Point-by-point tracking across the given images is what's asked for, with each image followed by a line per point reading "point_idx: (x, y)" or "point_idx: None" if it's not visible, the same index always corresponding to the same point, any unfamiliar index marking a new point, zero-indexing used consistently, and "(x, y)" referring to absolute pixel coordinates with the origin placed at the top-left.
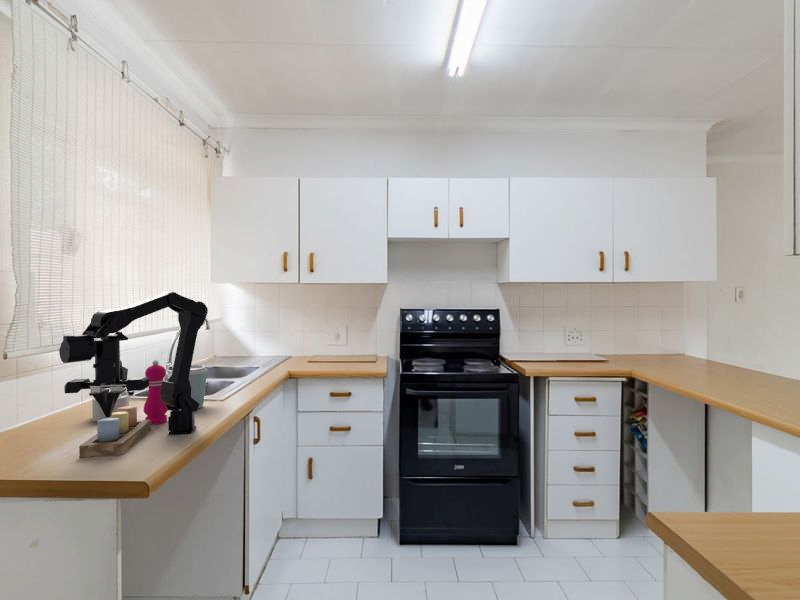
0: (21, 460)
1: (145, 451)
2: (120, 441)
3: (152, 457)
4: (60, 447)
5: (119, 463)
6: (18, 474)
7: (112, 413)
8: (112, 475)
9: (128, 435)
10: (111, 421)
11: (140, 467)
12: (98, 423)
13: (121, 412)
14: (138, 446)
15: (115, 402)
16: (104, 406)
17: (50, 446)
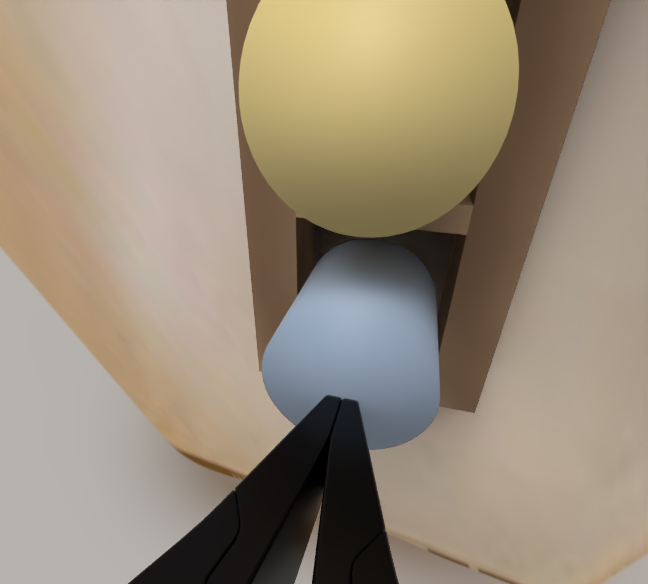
0: (75, 290)
1: (592, 352)
2: (458, 375)
3: (621, 447)
4: (91, 126)
5: (471, 456)
6: (174, 422)
7: (276, 63)
8: (464, 537)
9: (496, 258)
10: (388, 439)
11: (559, 520)
12: (292, 412)
13: (396, 13)
14: (551, 243)
15: (389, 570)
16: (292, 577)
17: (24, 87)
